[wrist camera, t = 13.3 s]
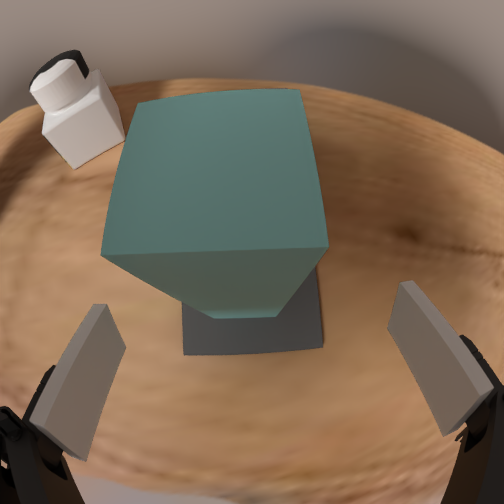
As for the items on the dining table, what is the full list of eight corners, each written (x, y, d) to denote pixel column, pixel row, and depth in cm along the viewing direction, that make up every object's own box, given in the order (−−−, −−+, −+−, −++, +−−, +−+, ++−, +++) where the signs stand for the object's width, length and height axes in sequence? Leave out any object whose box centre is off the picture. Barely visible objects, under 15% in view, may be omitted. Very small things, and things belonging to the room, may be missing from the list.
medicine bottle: (72, 134, 27) (27, 71, 15) (119, 107, 27) (84, 35, 16) (73, 172, 25) (15, 102, 13) (127, 141, 25) (81, 56, 14)
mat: (185, 355, 19) (183, 355, 18) (184, 228, 22) (183, 226, 21) (321, 347, 19) (323, 347, 18) (307, 221, 22) (308, 218, 21)
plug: (214, 318, 19) (100, 255, 5) (214, 259, 20) (137, 103, 6) (275, 316, 19) (328, 246, 5) (272, 257, 20) (299, 89, 6)
